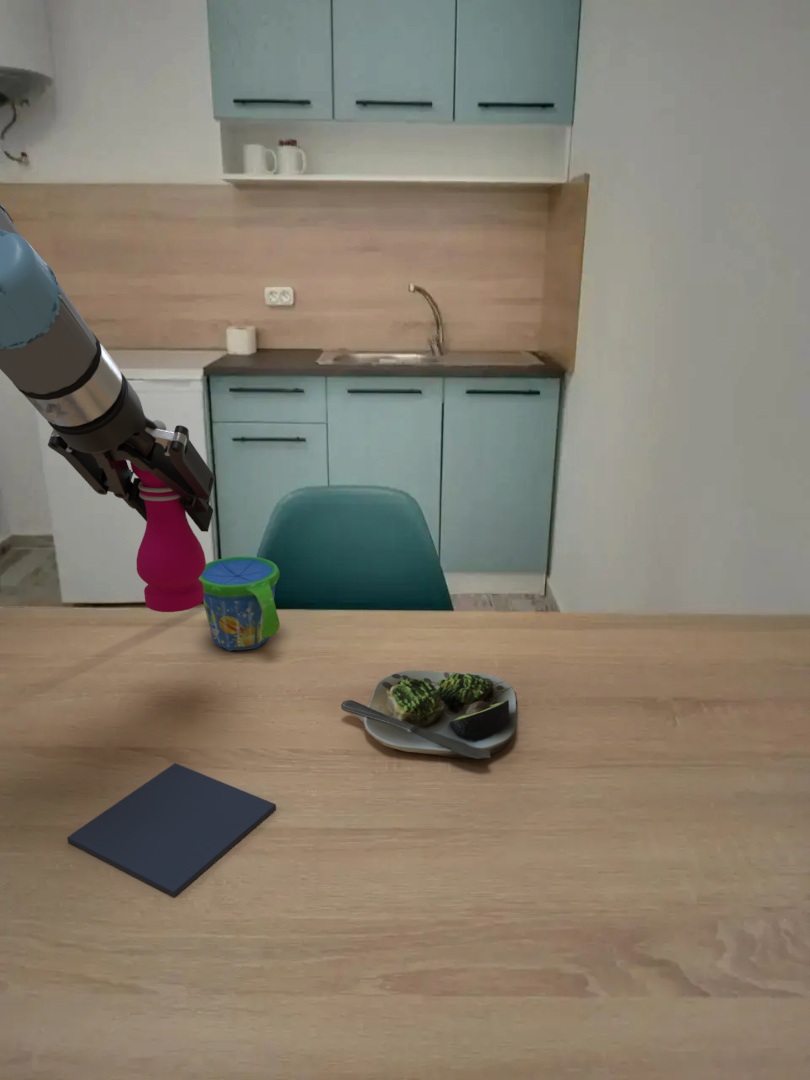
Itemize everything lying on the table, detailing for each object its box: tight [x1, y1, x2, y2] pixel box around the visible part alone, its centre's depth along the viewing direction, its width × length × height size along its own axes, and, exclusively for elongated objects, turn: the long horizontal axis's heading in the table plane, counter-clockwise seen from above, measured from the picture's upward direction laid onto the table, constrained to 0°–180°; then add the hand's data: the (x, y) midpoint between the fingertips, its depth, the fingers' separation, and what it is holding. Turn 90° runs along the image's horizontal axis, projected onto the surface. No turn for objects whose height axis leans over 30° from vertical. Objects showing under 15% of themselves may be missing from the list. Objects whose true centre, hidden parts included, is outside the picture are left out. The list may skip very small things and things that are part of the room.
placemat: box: [66, 762, 277, 898], centre depth 75 cm, size 13×13×1 cm
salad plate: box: [340, 669, 519, 760], centre depth 91 cm, size 19×18×5 cm
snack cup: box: [199, 555, 281, 652], centre depth 109 cm, size 16×10×10 cm
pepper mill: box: [129, 419, 207, 613], centre depth 88 cm, size 7×7×20 cm
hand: (182, 519), depth 92 cm, fingers closed on pepper mill, 5 cm apart
